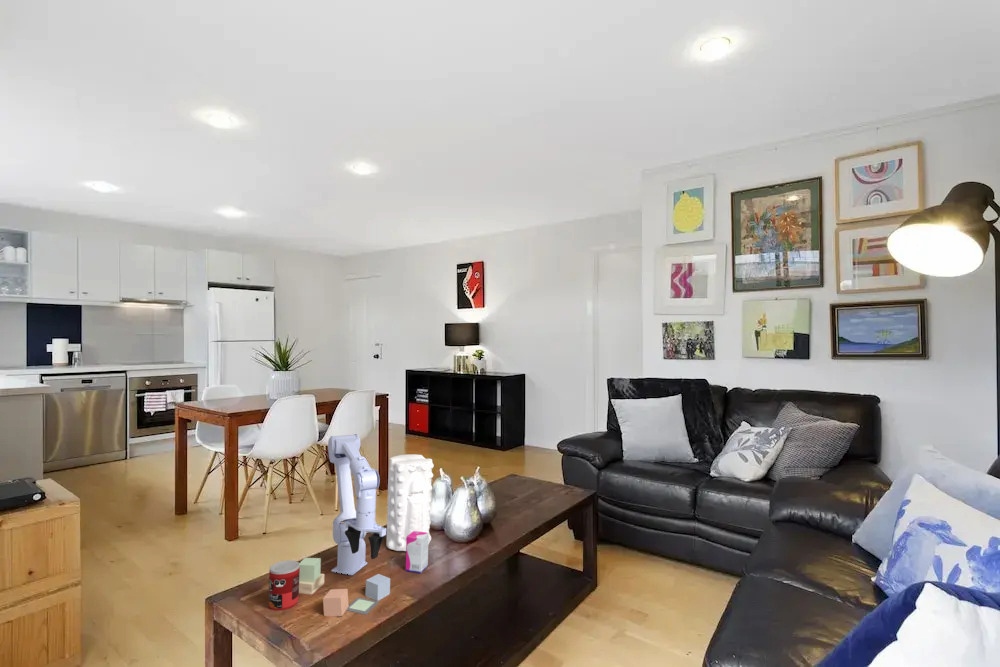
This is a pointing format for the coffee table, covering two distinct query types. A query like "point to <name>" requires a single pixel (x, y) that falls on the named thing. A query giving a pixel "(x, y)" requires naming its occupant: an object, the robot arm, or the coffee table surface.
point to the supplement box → (417, 551)
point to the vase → (408, 498)
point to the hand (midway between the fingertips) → (364, 555)
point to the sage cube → (309, 569)
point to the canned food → (284, 585)
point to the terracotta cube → (335, 602)
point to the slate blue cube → (377, 587)
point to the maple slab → (311, 585)
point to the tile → (362, 606)
